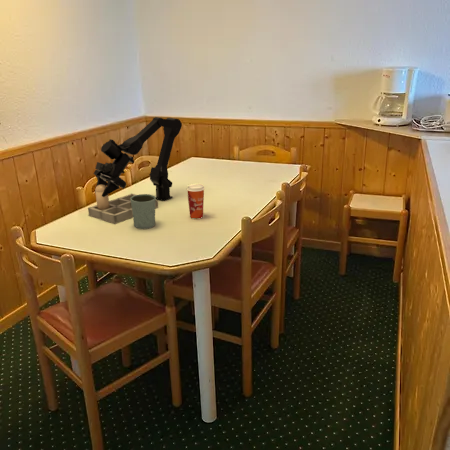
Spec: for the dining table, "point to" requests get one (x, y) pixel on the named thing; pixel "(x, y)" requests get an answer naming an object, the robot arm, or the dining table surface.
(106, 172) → the robot arm
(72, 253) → the dining table surface
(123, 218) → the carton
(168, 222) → the dining table surface
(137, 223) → the grey green pot
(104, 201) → the beige capped bottle
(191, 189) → the paper cup
